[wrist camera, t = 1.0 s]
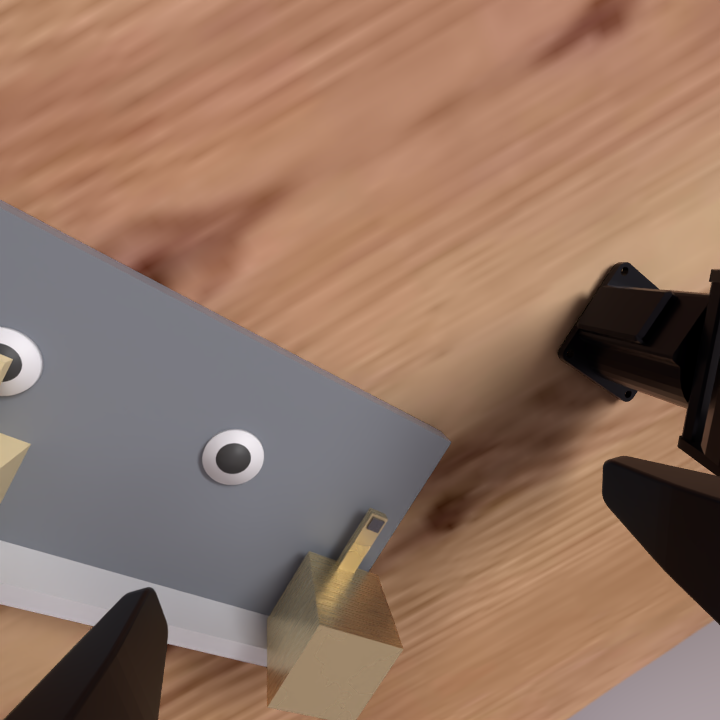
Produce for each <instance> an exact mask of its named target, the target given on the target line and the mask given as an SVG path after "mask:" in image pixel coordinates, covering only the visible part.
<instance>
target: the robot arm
mask: <svg viewBox="0 0 720 720" xmlns="http://www.w3.org/2000/svg"><path fill="white" fill-rule="evenodd" d="M622 269H623V271H622V274H621V270H622ZM709 282H712V283H711V288H710V293H709V294H707V293H695V292H683V291H671V290H659V289H658V288H657V287H656V286H655V285H654V284H653V283H651V282H650V281H649V280H648V279H647V278H646V277H645V276H643V275H642V274H641V273H640V272H639V271H638V270H637V269H635V268H634V267H633V266H632V265H631V264H630V263H628V262H619V263H617V264H615V265H614V266H613V268H612V270H611V271H610V273H609V274H608V276H607V277H606V279H605V280H604V282H603V283H602V285H601V286H600V288H599V289H598V291H597V292H596V294H595V295H594V297H593V299H592V300H591V302H590V303H589V305H588V306H587V308H586V309H585V311H584V312H583V314H582V315H581V317H580V318H579V320H578V321H577V323H576V324H575V326H574V327H573V329H572V331H571V332H570V334H569V335H568V337H567V338H566V340H565V341H564V343H563V344H562V346H561V347H560V349H559V352H558V355H559V358H560V359H561V360H562V361H564V362H565V363H567V364H568V365H570V366H571V367H573V368H574V369H576V370H577V371H578V372H580V373H581V374H583V375H584V376H586V377H587V378H589V379H590V380H592V381H593V382H595V383H596V384H597V385H599V386H600V387H602V388H603V389H605V390H606V391H608V392H609V393H611V394H612V395H613V396H615V397H616V398H618V399H620V400H622V401H625V402H628V401H630V400H632V398H633V397H634V396H635V394H636V393H637V391H639V392H642V393H645V394H648V395H650V396H653V397H656V398H659V399H662V400H664V401H667V402H670V403H673V404H675V405H678V406H681V407H684V408H687V412H686V417H685V422H684V427H683V433H682V436H679V441H678V446H677V447H678V448H680V449H681V450H682V451H684V452H685V453H687V454H688V455H689V456H691V457H692V458H693V459H695V460H696V461H697V462H699V463H700V464H702V465H703V466H704V467H706V468H707V469H708V470H710V471H711V472H712V473H714V474H715V475H716V476H715V475H711V474H706V473H702V472H697V471H692V470H688V469H683V468H679V467H674V466H670V465H665V464H660V463H656V462H651V461H647V460H642V459H638V458H633V457H628V456H620V457H616V458H613V459H609V460H607V461H606V462H605V463H604V465H603V481H602V495H603V499H604V501H605V503H606V505H607V506H608V507H609V509H610V510H611V511H612V512H613V513H614V514H615V515H616V517H617V518H618V519H619V520H620V521H621V522H622V523H623V525H624V526H625V527H626V528H627V529H628V530H629V531H630V532H631V534H632V535H633V536H634V537H635V538H636V539H637V540H638V542H639V543H640V544H641V545H642V546H643V547H644V548H645V550H646V551H647V552H648V553H649V554H650V555H651V556H652V558H653V559H654V560H655V561H656V562H657V563H658V564H659V565H660V566H661V567H662V569H663V570H664V571H665V572H666V573H667V574H668V575H669V576H670V577H671V578H672V579H673V580H674V581H675V582H676V583H677V584H678V585H679V586H680V587H681V588H682V589H683V590H684V591H685V592H686V593H687V594H688V595H690V596H691V597H692V598H693V599H694V600H695V601H696V602H697V603H698V604H699V605H700V606H701V607H702V608H703V609H704V610H705V611H706V612H707V613H708V614H709V615H710V616H711V617H712V618H713V619H714V620H715V621H716V622H717V623H718V624H719V625H720V269H711V274H710V280H709ZM568 351H569V354H568V355H567V352H568ZM625 393H626V394H625ZM167 641H168V625H167V621H166V618H165V615H164V613H163V610H162V607H161V605H160V602H159V599H158V596H157V594H156V592H155V590H154V589H153V588H151V587H146V588H142V589H139V590H135V591H131V592H129V593H126V594H125V595H124V596H123V597H122V598H121V599H120V600H119V601H118V602H117V603H116V604H115V605H114V606H113V607H112V608H111V609H110V610H109V611H108V612H107V613H106V614H105V615H104V616H103V617H102V618H101V619H100V620H99V621H98V622H97V623H96V624H95V625H94V627H93V628H92V629H91V630H90V631H89V632H88V633H87V634H86V635H85V636H84V637H83V638H82V639H81V640H80V641H79V642H78V643H77V644H76V645H75V646H74V647H73V648H72V649H71V650H70V651H69V652H68V653H67V654H66V656H65V657H64V658H63V659H62V660H61V661H60V662H59V663H58V664H57V665H56V666H55V667H54V668H53V669H52V670H51V671H50V672H49V673H48V674H47V675H46V676H45V677H44V678H43V679H42V680H41V681H40V682H39V683H38V684H37V686H36V687H35V688H34V689H33V690H32V691H31V692H30V693H29V694H28V695H27V696H26V697H25V698H24V699H23V700H22V701H21V702H20V703H19V704H18V705H17V706H16V707H15V708H14V709H13V710H12V711H11V712H10V713H9V715H8V716H7V717H6V718H5V719H4V720H158V714H159V706H160V698H161V690H162V682H163V674H164V666H165V657H166V649H167Z"/></svg>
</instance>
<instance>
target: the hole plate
mask: <svg viewBox="0 0 720 720" xmlns="http://www.w3.org/2000/svg"><path fill="white" fill-rule="evenodd" d="M450 444H451V441H450V440H449V439H448V438H447V437H446V436H445V435H444V434H443V433H442V432H441V431H439V430H437V429H435V428H434V427H432V426H430V425H428V424H426V423H424V422H422V421H420V420H418V419H416V418H415V417H413V416H411V415H409V414H407V413H405V412H403V411H401V410H399V409H397V408H396V407H394V406H392V405H390V404H388V403H386V402H384V401H382V400H380V399H378V398H376V397H375V396H373V395H371V394H369V393H367V392H365V391H363V390H361V389H359V388H357V387H356V386H354V385H352V384H350V383H348V382H346V381H344V380H342V379H340V378H338V377H337V376H335V375H333V374H331V373H329V372H327V371H325V370H323V369H321V368H319V367H318V366H316V365H314V364H312V363H310V362H308V361H306V360H304V359H302V358H300V357H298V356H297V355H295V354H293V353H291V352H289V351H287V350H285V349H283V348H281V347H279V346H278V345H276V344H274V343H272V342H270V341H268V340H266V339H264V338H262V337H260V336H259V335H257V334H255V333H253V332H251V331H249V330H247V329H245V328H243V327H241V326H240V325H238V324H236V323H234V322H232V321H230V320H228V319H226V318H224V317H222V316H220V315H219V314H217V313H215V312H213V311H211V310H209V309H207V308H205V307H203V306H201V305H200V304H198V303H196V302H194V301H192V300H190V299H188V298H186V297H184V296H182V295H181V294H179V293H177V292H175V291H173V290H171V289H169V288H167V287H165V286H163V285H161V284H160V283H158V282H156V281H154V280H152V279H150V278H148V277H146V276H144V275H142V274H141V273H139V272H137V271H135V270H133V269H131V268H129V267H127V266H125V265H123V264H122V263H120V262H118V261H116V260H114V259H112V258H110V257H108V256H106V255H104V254H103V253H101V252H99V251H97V250H95V249H93V248H91V247H89V246H87V245H85V244H83V243H82V242H80V241H78V240H76V239H74V238H72V237H70V236H68V235H66V234H64V233H63V232H61V231H59V230H57V229H55V228H53V227H51V226H49V225H47V224H45V223H44V222H42V221H40V220H38V219H36V218H34V217H32V216H30V215H28V214H26V213H25V212H23V211H21V210H19V209H17V208H15V207H13V206H11V205H9V204H7V203H5V202H4V201H2V200H0V604H2V605H6V606H10V607H14V608H19V609H23V610H27V611H31V612H36V613H40V614H44V615H48V616H53V617H57V618H61V619H65V620H70V621H74V622H78V623H82V624H87V625H91V626H94V625H95V624H96V623H97V622H98V621H99V620H100V619H101V618H102V617H103V616H104V615H105V614H106V613H107V612H108V611H109V610H110V609H111V608H112V607H113V606H114V605H115V604H116V603H117V602H118V601H119V600H120V599H121V598H122V597H123V596H124V595H125V594H126V593H129V592H131V591H135V590H139V589H142V588H146V587H151V588H153V589H154V590H155V592H156V594H157V596H158V599H159V602H160V605H161V607H162V610H163V613H164V615H165V618H166V621H167V625H168V641H167V644H171V645H175V646H180V647H184V648H188V649H192V650H197V651H201V652H205V653H209V654H214V655H218V656H222V657H226V658H231V659H235V660H239V661H243V662H248V663H252V664H256V665H260V666H264V667H267V618H268V617H269V615H270V613H271V612H272V610H273V609H274V607H275V605H276V604H277V602H278V600H279V599H280V597H281V596H282V594H283V592H284V591H285V589H286V587H287V586H288V584H289V583H290V581H291V579H292V578H293V576H294V575H295V573H296V571H297V570H298V568H299V566H300V565H301V563H302V562H303V560H304V558H305V557H306V555H307V554H308V552H309V551H310V552H313V553H316V554H318V555H321V556H324V557H327V558H330V559H333V560H336V561H337V559H338V558H339V556H340V555H341V553H342V551H343V550H344V548H345V547H346V545H347V543H348V542H349V540H350V539H351V537H352V536H353V534H354V532H355V531H356V529H357V528H358V526H359V524H360V523H361V521H362V520H363V518H364V516H365V515H366V513H367V512H368V510H369V508H372V509H375V510H377V511H379V512H382V513H384V514H386V516H387V518H388V521H387V522H386V524H385V525H384V527H383V529H382V530H381V532H380V533H379V535H378V536H377V538H376V540H375V541H374V543H373V544H372V546H371V547H370V549H369V551H368V552H367V554H366V555H365V557H364V558H363V560H362V562H361V563H360V565H359V566H358V569H361V570H364V571H367V572H369V570H370V569H371V567H372V565H373V564H374V562H375V561H376V559H377V558H378V556H379V555H380V553H381V551H382V550H383V548H384V547H385V545H386V544H387V542H388V541H389V539H390V537H391V536H392V534H393V533H394V531H395V530H396V528H397V526H398V525H399V523H400V522H401V520H402V519H403V517H404V516H405V514H406V512H407V511H408V509H409V508H410V506H411V505H412V503H413V502H414V500H415V498H416V497H417V495H418V494H419V492H420V491H421V489H422V488H423V486H424V484H425V483H426V481H427V480H428V478H429V477H430V475H431V473H432V472H433V470H434V469H435V467H436V466H437V464H438V463H439V461H440V459H441V458H442V456H443V455H444V453H445V452H446V450H447V449H448V447H449V445H450Z"/></svg>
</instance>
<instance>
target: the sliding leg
mask: <svg viewBox="0 0 720 720" xmlns="http://www.w3.org/2000/svg"><path fill="white" fill-rule="evenodd" d="M387 521H388V518H387V516H386V514H384V513H382V512H379V511H377V510H375V509H372V508H369V510H368V512H367V513H366V515H365V516H364V518H363V520H362V521H361V523H360V524H359V526H358V528H357V529H356V531H355V532H354V534H353V536H352V537H351V539H350V540H349V542H348V543H347V545H346V547H345V548H344V550H343V551H342V553H341V555H340V556H339V558H338V559H337V561H336V560H333V559H330V558H327V557H324V556H321V555H318V554H316V553H313V552H310V551H309V552H308V554H307V555H306V557H305V558H304V560H303V562H302V563H301V565H300V566H299V568H298V570H297V571H296V573H295V575H294V576H293V578H292V579H291V581H290V583H289V584H288V586H287V587H286V589H285V591H284V592H283V594H282V596H281V597H280V599H279V600H278V602H277V604H276V605H275V607H274V609H273V610H272V612H271V613H270V615H269V617H268V618H267V708H272V709H277V710H282V711H287V712H292V713H297V714H302V715H307V716H312V717H317V718H322V719H327V720H356V719H357V718H358V716H359V715H360V713H361V712H362V710H363V709H364V707H365V706H366V704H367V703H368V701H369V700H370V698H371V697H372V695H373V694H374V692H375V691H376V689H377V688H378V686H379V685H380V683H381V682H382V680H383V679H384V677H385V676H386V674H387V673H388V671H389V670H390V668H391V667H392V665H393V664H394V662H395V661H396V659H397V658H398V656H399V655H400V653H401V652H402V650H403V646H402V643H401V641H400V638H399V635H398V632H397V629H396V626H395V623H394V621H393V618H392V615H391V612H390V609H389V606H388V603H387V601H386V598H385V595H384V592H383V589H382V586H381V584H380V581H379V578H378V575H375V574H372V573H370V572H367V571H364V570H361V569H358V566H359V565H360V563H361V562H362V560H363V558H364V557H365V555H366V554H367V552H368V551H369V549H370V547H371V546H372V544H373V543H374V541H375V540H376V538H377V536H378V535H379V533H380V532H381V530H382V529H383V527H384V525H385V524H386V522H387Z"/></svg>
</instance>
